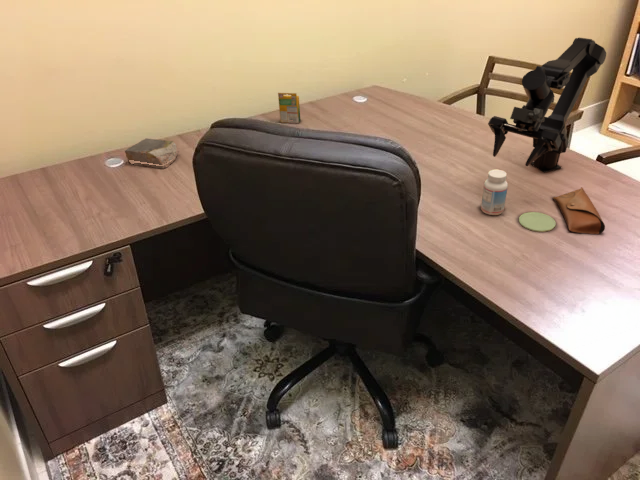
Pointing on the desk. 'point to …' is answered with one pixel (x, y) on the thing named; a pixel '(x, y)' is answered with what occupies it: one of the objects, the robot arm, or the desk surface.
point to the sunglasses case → (580, 212)
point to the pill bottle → (494, 192)
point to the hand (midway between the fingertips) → (509, 160)
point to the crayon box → (289, 107)
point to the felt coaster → (537, 221)
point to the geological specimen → (152, 152)
